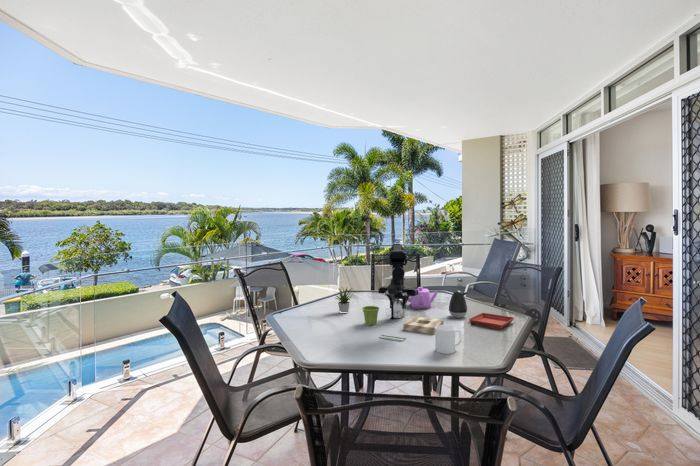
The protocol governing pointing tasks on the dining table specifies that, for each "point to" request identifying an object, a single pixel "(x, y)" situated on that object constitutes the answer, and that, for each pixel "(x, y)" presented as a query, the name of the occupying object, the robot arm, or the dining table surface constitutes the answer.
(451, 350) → the cup
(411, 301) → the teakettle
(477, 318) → the plant saucer
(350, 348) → the dining table surface
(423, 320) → the housing
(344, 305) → the house plant
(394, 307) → the grey metallic cylinder
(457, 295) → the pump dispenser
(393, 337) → the mat
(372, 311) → the plant pot
